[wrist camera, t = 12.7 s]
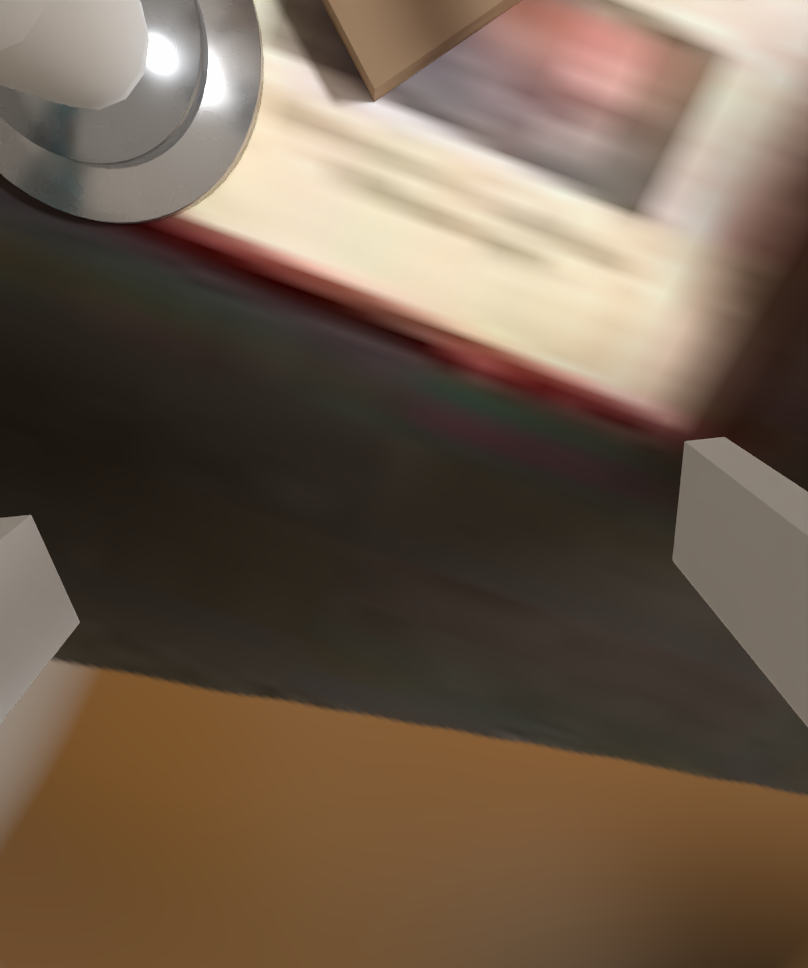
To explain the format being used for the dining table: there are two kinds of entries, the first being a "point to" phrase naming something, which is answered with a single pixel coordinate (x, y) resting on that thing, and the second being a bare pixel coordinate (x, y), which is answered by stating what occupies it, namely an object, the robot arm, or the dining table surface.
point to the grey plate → (147, 121)
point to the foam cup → (73, 49)
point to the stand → (405, 34)
